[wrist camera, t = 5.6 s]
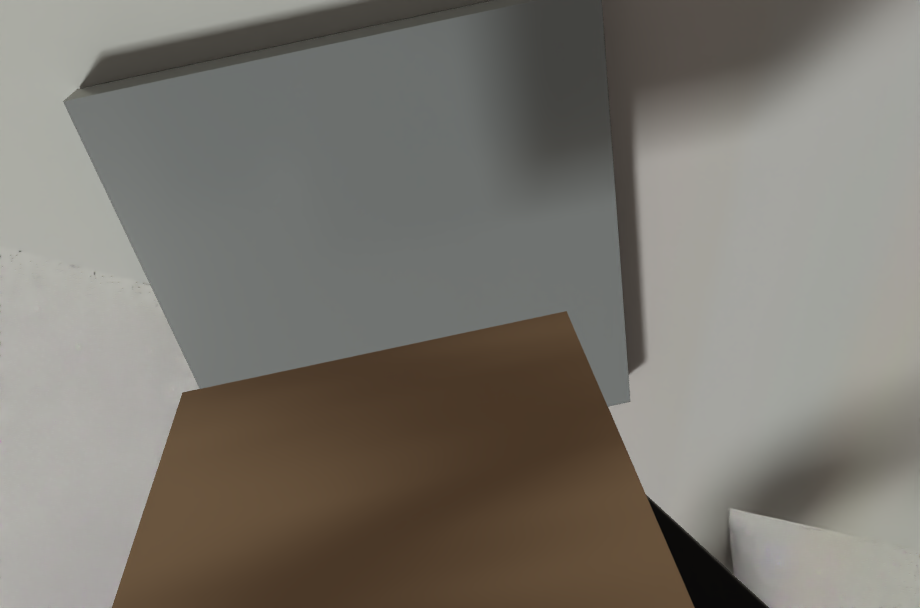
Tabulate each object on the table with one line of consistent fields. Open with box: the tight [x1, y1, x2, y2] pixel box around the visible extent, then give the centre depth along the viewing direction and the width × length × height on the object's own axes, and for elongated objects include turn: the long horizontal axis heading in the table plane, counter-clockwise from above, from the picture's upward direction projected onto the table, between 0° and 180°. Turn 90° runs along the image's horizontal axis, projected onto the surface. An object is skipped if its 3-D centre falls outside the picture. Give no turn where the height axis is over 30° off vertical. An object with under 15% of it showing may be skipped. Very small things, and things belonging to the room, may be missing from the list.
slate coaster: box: [63, 0, 630, 406], centre depth 17 cm, size 10×10×1 cm
